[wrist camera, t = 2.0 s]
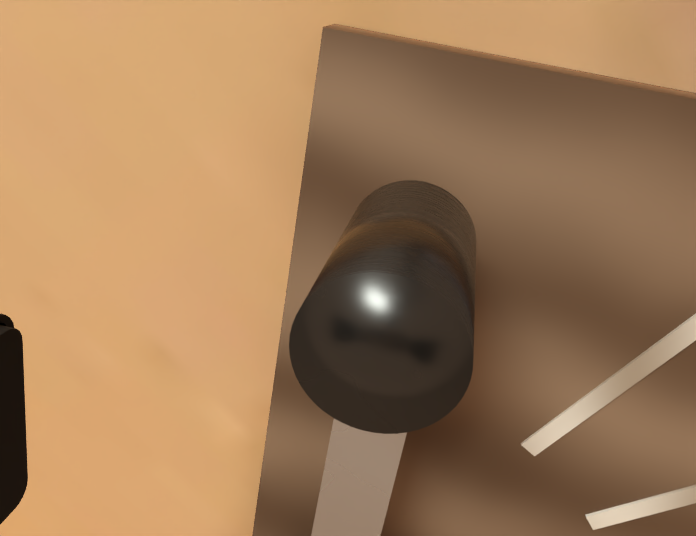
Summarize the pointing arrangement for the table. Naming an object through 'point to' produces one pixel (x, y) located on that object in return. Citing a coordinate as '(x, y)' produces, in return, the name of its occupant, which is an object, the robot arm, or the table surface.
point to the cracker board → (515, 291)
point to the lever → (386, 342)
